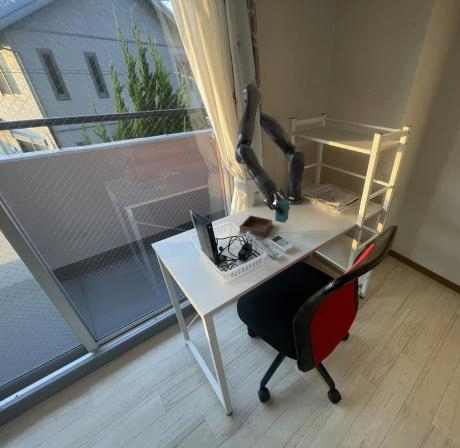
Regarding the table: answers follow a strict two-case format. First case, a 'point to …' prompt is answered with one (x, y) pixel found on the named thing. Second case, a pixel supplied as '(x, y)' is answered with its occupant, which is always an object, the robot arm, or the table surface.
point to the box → (256, 226)
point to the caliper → (255, 240)
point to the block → (284, 207)
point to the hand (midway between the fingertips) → (285, 212)
